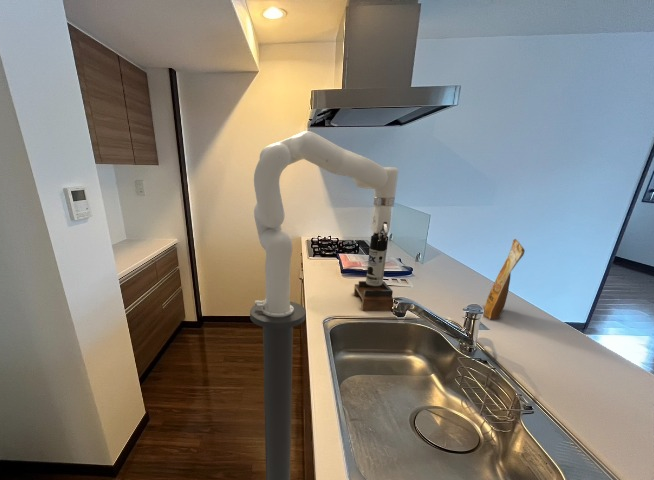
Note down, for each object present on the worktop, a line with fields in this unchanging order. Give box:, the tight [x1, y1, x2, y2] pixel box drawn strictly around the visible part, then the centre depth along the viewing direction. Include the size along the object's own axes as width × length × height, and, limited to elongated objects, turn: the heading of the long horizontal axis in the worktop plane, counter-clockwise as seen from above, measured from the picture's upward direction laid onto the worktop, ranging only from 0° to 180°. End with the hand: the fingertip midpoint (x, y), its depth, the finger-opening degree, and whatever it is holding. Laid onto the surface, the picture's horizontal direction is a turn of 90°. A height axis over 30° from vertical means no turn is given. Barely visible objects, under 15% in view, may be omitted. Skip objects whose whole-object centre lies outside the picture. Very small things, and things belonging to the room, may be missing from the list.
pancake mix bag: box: [484, 238, 525, 320], centre depth 119 cm, size 7×19×28 cm, turn 145°
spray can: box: [365, 234, 389, 286], centre depth 129 cm, size 7×7×20 cm
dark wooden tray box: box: [353, 280, 395, 312], centre depth 135 cm, size 12×18×7 cm, turn 177°
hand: (378, 248), depth 127 cm, fingers closed on spray can, 6 cm apart
